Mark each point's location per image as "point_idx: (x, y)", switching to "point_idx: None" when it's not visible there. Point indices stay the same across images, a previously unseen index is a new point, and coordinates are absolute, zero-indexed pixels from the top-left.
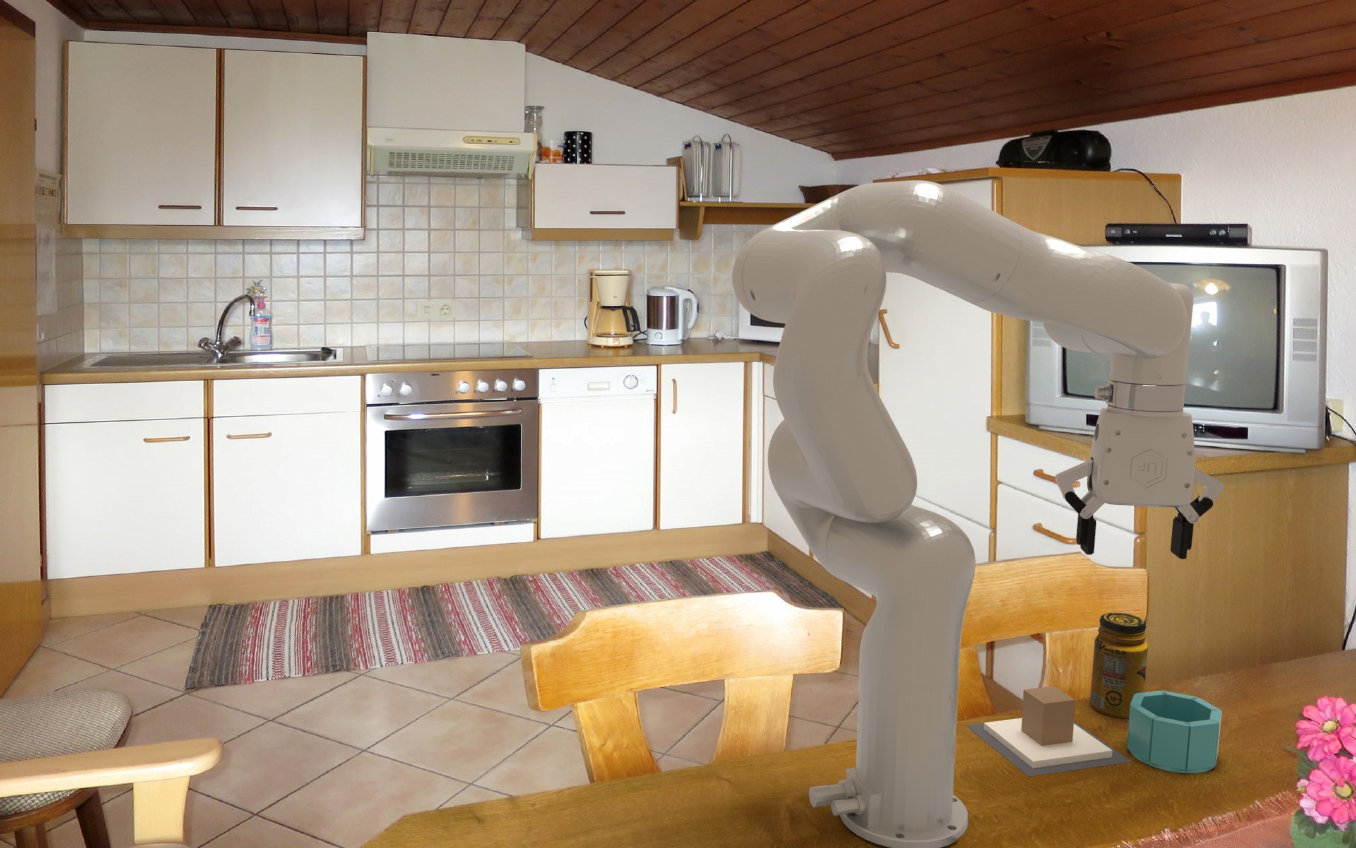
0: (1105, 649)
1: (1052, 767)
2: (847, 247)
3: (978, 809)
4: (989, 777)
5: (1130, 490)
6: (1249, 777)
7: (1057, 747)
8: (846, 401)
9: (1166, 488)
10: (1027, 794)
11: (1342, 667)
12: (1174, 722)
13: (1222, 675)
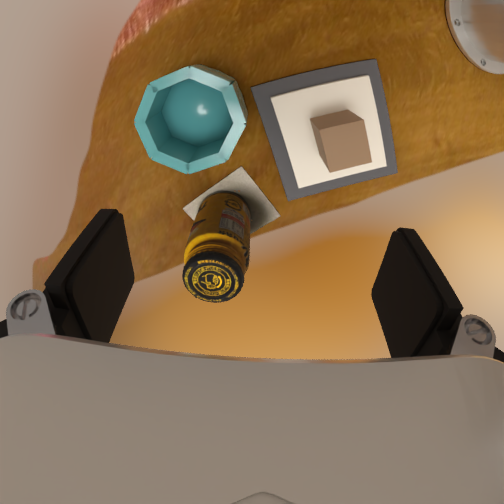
0: (242, 243)
1: (345, 75)
2: None
3: (431, 19)
4: (407, 71)
5: (399, 453)
6: (134, 78)
7: (331, 105)
8: None
9: (76, 463)
10: (382, 35)
11: None
12: (205, 75)
13: None
